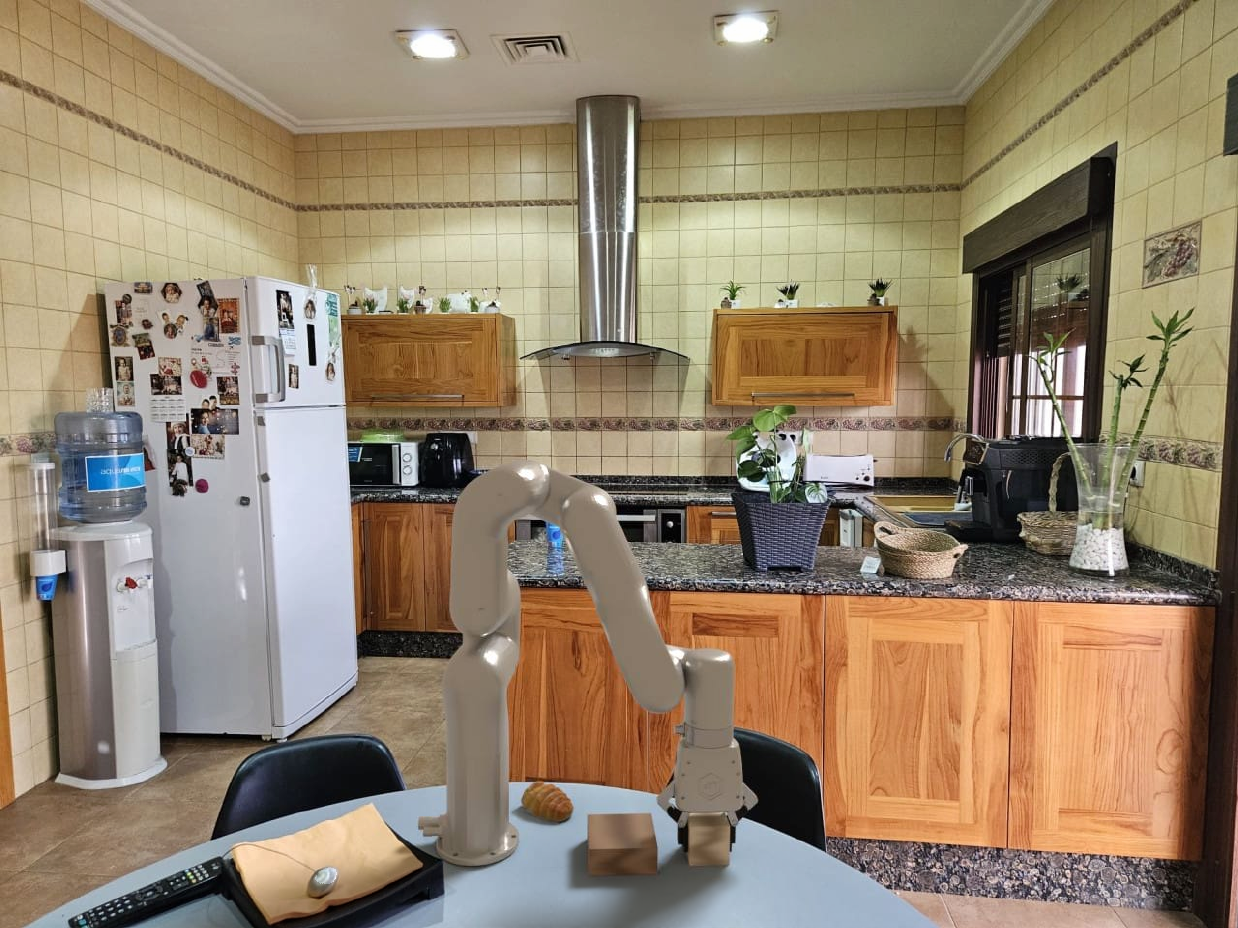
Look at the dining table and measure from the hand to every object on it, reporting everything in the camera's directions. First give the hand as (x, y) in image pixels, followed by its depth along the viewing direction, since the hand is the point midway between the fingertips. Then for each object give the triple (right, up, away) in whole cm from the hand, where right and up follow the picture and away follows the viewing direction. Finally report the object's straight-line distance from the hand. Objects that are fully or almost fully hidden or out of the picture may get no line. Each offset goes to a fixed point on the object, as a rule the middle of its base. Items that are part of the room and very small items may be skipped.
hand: (706, 846), depth 121 cm
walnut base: (-13, -1, -1) cm, 13 cm away
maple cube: (0, -1, 0) cm, 1 cm away
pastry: (-25, 0, +13) cm, 29 cm away
